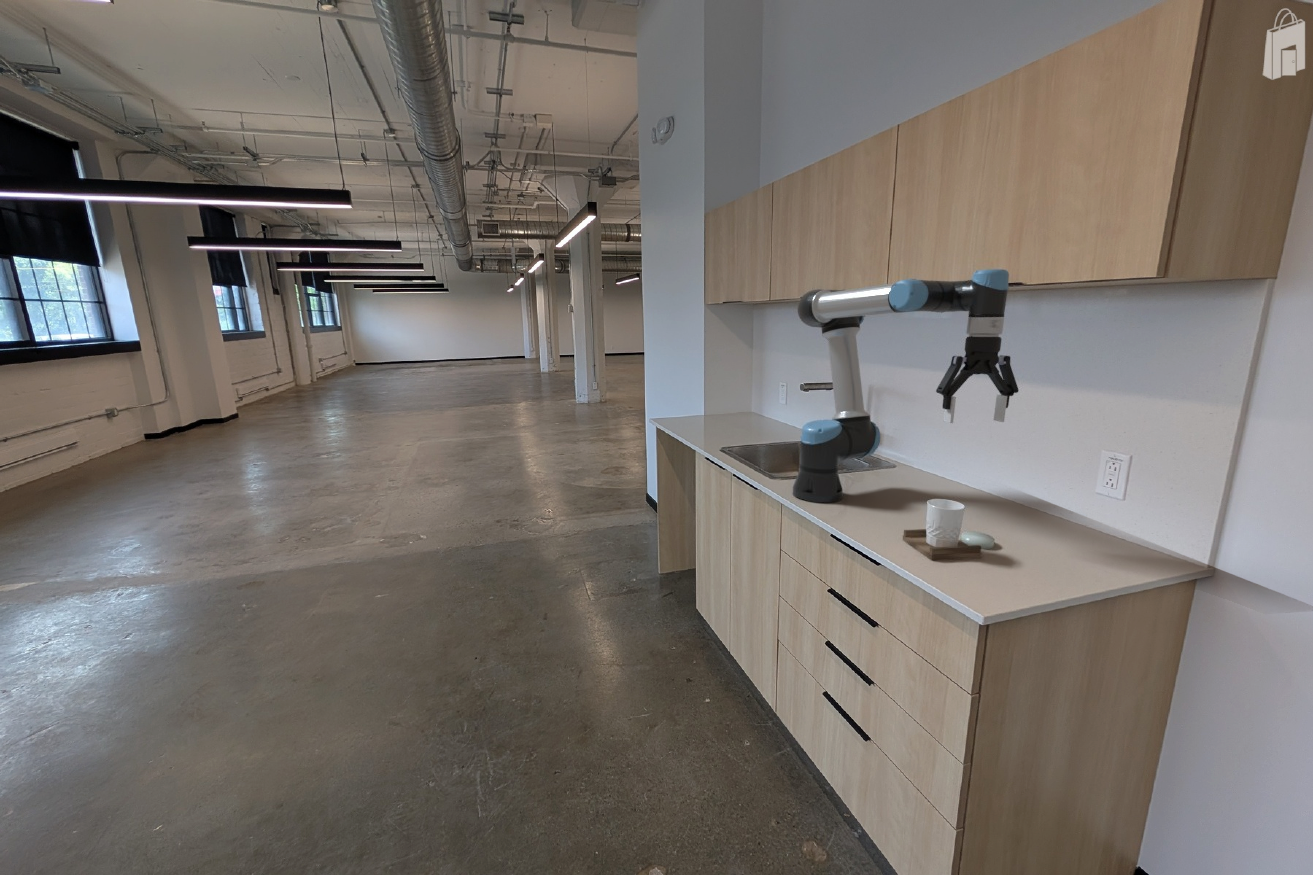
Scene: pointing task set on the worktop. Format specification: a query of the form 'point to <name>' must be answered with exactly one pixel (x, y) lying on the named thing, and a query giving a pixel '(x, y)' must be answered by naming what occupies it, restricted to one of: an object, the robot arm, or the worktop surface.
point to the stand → (940, 553)
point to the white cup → (943, 522)
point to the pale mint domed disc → (978, 539)
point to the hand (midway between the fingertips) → (973, 421)
